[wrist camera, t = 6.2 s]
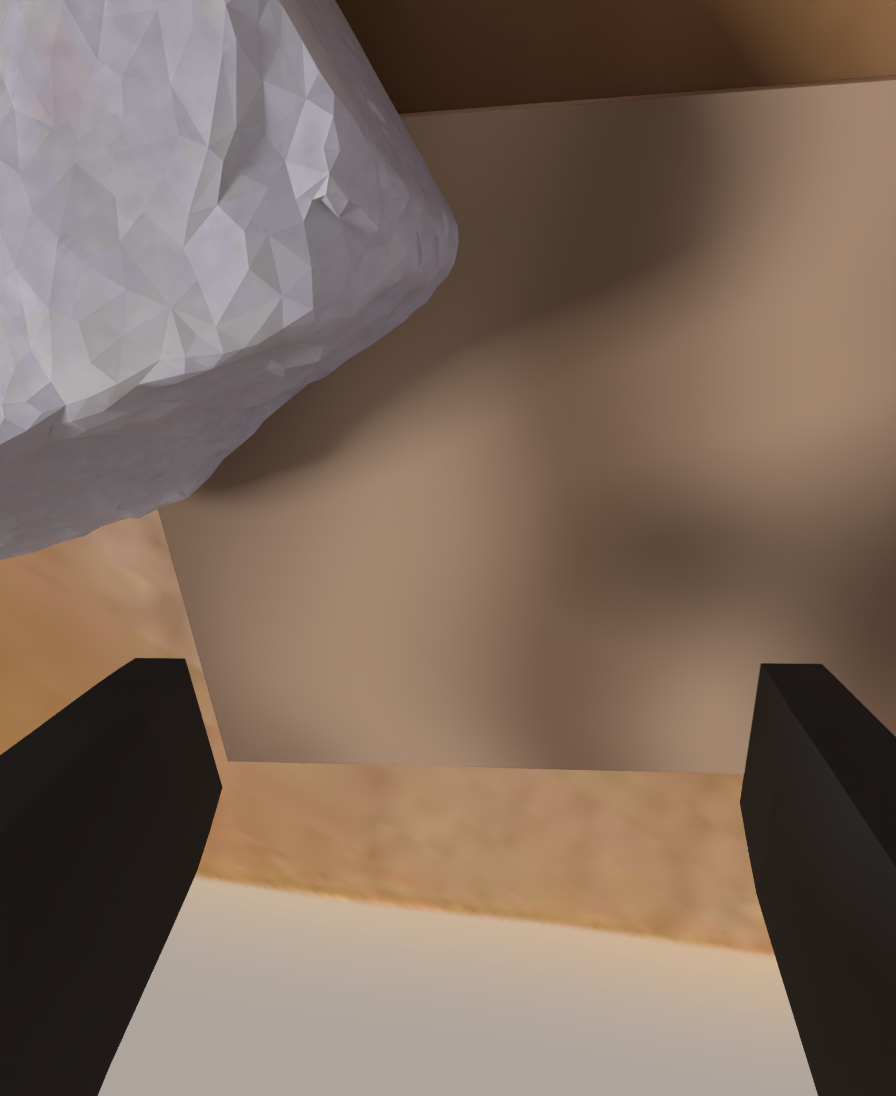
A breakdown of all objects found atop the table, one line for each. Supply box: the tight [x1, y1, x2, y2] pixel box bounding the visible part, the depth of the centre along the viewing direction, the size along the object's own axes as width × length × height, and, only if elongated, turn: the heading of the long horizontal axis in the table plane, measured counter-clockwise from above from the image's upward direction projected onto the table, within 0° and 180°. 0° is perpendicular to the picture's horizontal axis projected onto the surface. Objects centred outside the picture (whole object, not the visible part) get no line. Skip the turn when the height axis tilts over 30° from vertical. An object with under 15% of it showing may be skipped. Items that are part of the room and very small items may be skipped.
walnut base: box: [158, 75, 896, 774], centre depth 14 cm, size 16×12×2 cm
